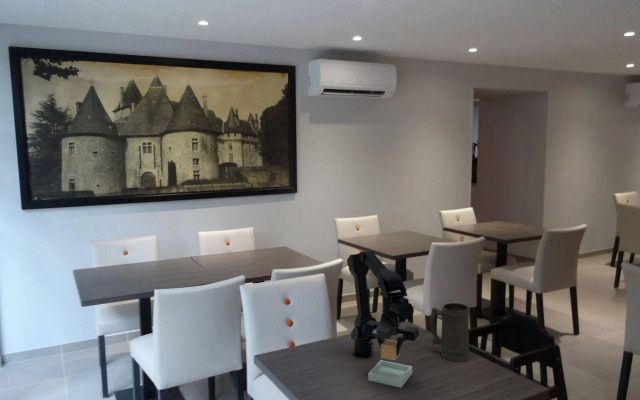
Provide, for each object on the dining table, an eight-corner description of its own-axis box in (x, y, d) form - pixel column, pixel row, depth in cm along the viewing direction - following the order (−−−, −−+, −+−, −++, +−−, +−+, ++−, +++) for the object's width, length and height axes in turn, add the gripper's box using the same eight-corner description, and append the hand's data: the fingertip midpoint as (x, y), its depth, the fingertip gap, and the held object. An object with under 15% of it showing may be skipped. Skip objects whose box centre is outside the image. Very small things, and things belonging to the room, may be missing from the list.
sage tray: (368, 380, 166) (368, 373, 166) (380, 366, 176) (380, 360, 176) (401, 387, 160) (401, 380, 160) (412, 373, 171) (412, 366, 171)
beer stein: (472, 352, 188) (469, 302, 187) (471, 363, 178) (468, 310, 177) (432, 349, 193) (429, 301, 192) (429, 360, 183) (426, 309, 182)
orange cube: (381, 357, 167) (381, 344, 166) (386, 352, 171) (386, 339, 171) (394, 360, 164) (394, 346, 164) (399, 355, 169) (399, 341, 168)
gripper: (356, 313, 163) (356, 357, 165) (409, 322, 155) (409, 368, 156) (369, 304, 173) (369, 345, 175) (419, 311, 164) (419, 355, 166)
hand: (390, 353), depth 168 cm, fingers closed on orange cube, 5 cm apart
